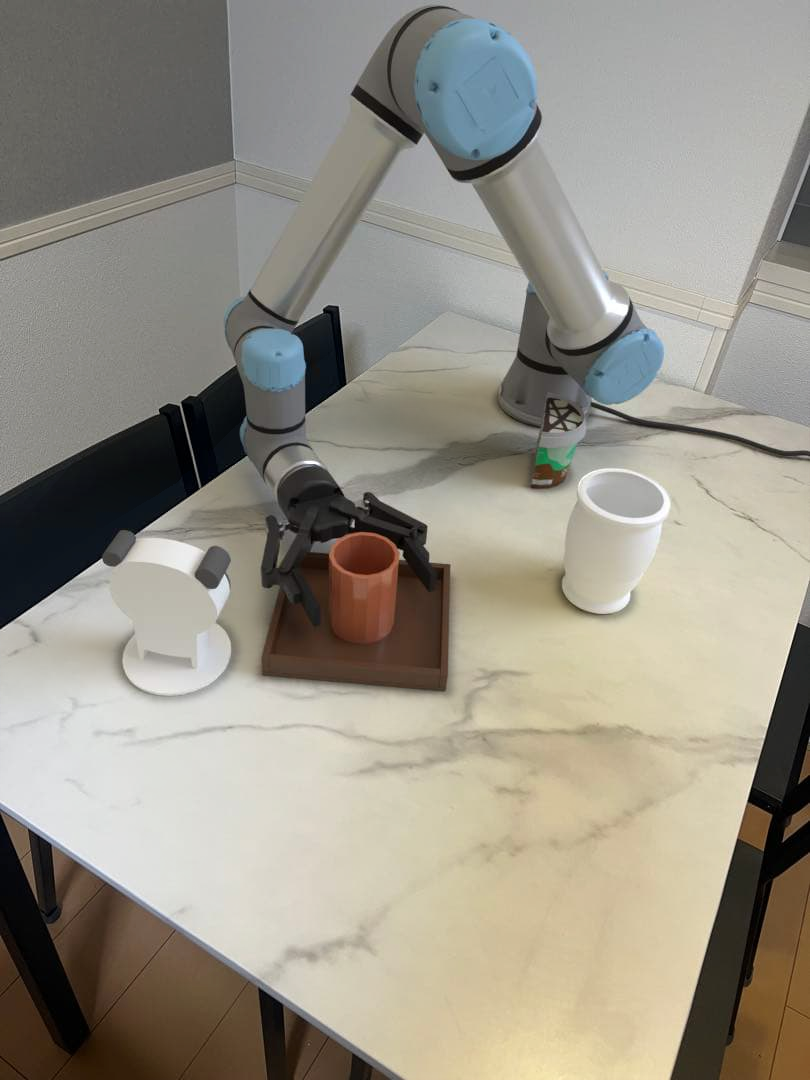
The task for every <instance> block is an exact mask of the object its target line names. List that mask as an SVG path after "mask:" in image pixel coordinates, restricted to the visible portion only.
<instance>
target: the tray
mask: <svg viewBox="0 0 810 1080" xmlns="http://www.w3.org/2000/svg"><path fill="white" fill-rule="evenodd" d="M429 563H430V564H431V565H432V567H433V568H434V569H435V571H436V572H437V576H436V584H435V590H434V591H431V592H428V590H427V589H426V588H425V586H424V585H423V584H422V582H421V581H420V580H419V578H418V577H417V575H416V574H415V573H414V571H413V570H412V569H411V567H410V566H409V565H408V563H407V562H406V560H405V559H399V566H398V578H397V591H396V603H395V615H394V625H393V628H392V630H391V631H390V633H389V634H388V635H387V636H386V637H384V638H383V639H381V640H379V641H376V642H373V643H368V644H356V643H351V642H348V641H345V640H343V639H341V638H340V637H338V636H337V635H336V634H335V633H334V632H333V630H332V629H331V627H330V623H329V553H327V552H315V551H310V552H307V554H306V556H305V558H304V560H303V562H302V564H301V566H300V568H299V571H300V572H301V574H302V576H303V577H304V579H305V581H306V583H307V584H308V586H309V588H310V589H311V591H312V593H313V595H314V596H315V598H316V600H317V602H318V603H319V605H320V607H321V625H320V626H317V627H314V626H313V625H312V623H311V621H310V619H309V617H308V616H307V614H306V612H305V610H304V608H303V607H302V605H301V603H296V604H293V603H291V602H290V600H289V598H288V597H287V595H286V593H283V592H281V591H280V587H279V588H278V593H277V596H276V599H275V604H274V608H273V611H272V615H271V619H270V620H271V621H270V623H269V627H268V631H267V635H266V638H265V642H264V646H263V649H262V650H263V651H262V654H261V657H260V658H261V659H260V663H261V664H260V665H261V675H262V676H270V677H281V678H293V679H304V680H313V681H314V680H316V681H328V682H338V683H339V682H340V683H348V684H349V683H351V684H361V685H373V686H382V687H385V686H386V687H393V688H395V687H396V688H404V689H405V688H407V689H418V690H429V691H439V692H440V691H441V692H446V690H447V684H448V679H449V678H448V677H449V652H450V651H449V649H450V648H449V646H450V644H449V643H450V605H451V604H450V598H451V597H450V596H451V564H450V563H442V562H430V561H429Z"/></svg>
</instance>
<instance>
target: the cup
mask: <svg viewBox="0 0 810 1080" xmlns="http://www.w3.org/2000/svg"><path fill="white" fill-rule="evenodd" d="M329 548H330V549H329V553H328V554H329V623H330V627H331V629H332V630H333V632H334V633H335V634H336V635H337V636H338V637H340V638H341V639H343V640H345V641H348V642H351V643H356V644H368V643H373V642H376V641H379V640H381V639H383V638H384V637H386V636H387V635H388V634H389V633H390V631H391V630H392V628H393V625H394V615H395V603H396V591H397V578H398V566H399V560H400V551H399V549H397V547H396V545H395V544H394V543H393V542H391V541H390V540H389V539H388V538H386V537H384V536H381V535H378V534H375V533H367V532H358V533H352V534H348V535H345V536H343V537H341V538H337V540H336V541H335V542H334V543H333V544H332V545H330V547H329Z"/></svg>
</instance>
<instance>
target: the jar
mask: <svg viewBox="0 0 810 1080" xmlns="http://www.w3.org/2000/svg"><path fill="white" fill-rule="evenodd" d="M576 497H577V500H576V502H575V504H574V506H573V508H572V511H571V513H570V515H569V516H570V517H569V518H568V522H567V526H566V531H565V537H564V539H565V541H564V557H563V559H564V564H563V565H564V571H565V574H564V576H563V578H562V580H561V589H562V592H563V595H564V596H565V597H566V598H567V600H568V601H569V602H570V603H572V605H574V606H575V607H577V608H579V609H581V610H583V611H585V612H588V613H593V614H598V615H599V614H600V615H608V614H614V613H617V612H619V611H621V610H623V609H624V608H625V607H627V605H628V604H629V602H630V599H631V592H632V591H633V590H634V589H635V588H636V587H637V585H638V584H639V583H640V581H641V579H642V578H643V576H644V574H645V571H646V570H647V569H648V567H650V564H651V563H652V561H653V559H654V557H655V555H656V553H657V549H658V547H659V544H660V540H661V534H662V527H663V522H664V521H666V520H667V517H668V516H669V514H670V512H671V508H672V499H671V496H670V493H668V491H667V489H665V487H664V486H662V485H661V483H659V482H658V481H656V480H655V479H653V478H651V477H650V476H648V475H645V474H644V473H641V472H637V471H634V470H630V469H627V468H626V469H625V468H617V467H615V468H614V467H609V468H608V467H607V468H601V469H595V470H592V471H591V472H589V473H586V474H585V475H583V476H582V478H581V479H580V481H579V482H578V485H577V488H576Z"/></svg>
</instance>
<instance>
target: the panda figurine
mask: <svg viewBox="0 0 810 1080" xmlns="http://www.w3.org/2000/svg"><path fill="white" fill-rule="evenodd" d="M101 559H102V563H103V564H104V565H106V566H108V567H111V568H112V571H111V574H110V577H109V583H108V584H109V585H108V586H109V593H110V596H111V598H112V600H113V602H114V603H115V605H116V606H117V608H118V609H119V610H120V611H121V612H122V613H123V615H125V616H127V617H128V618H130V619H131V620H132V624H133V628H134V634H133V635H132V636H131V637H130V639H129V640H128V642H127V643H126V645H125V647H124V649H123V653H122V661H121V662H122V668H123V671H124V674H125V676H126V677H127V679H128V680H129V681H130V683H131V684H132V685H134V686H135V687H136V688H138V689H139V690H141V691H143V692H146V693H148V694H151V695H155V696H161V697H164V696H165V697H174V696H181V695H187V694H190V693H194V692H197V691H199V690H202V689H203V688H206V687H207V686H208V685H209V686H210V685H211V684H212V683H213V682H214V681H216V680H217V679H218V678H219V677H220V676H221V675H222V674H223V673H224V671H226V669H227V667H228V665H229V663H230V661H231V657H232V643H231V640H230V637H229V635H228V633H227V632H226V630H225V629H224V628H223V627H222V626H221V625H220V624H218V623H217V620H218V618H219V616H220V614H221V612H222V610H223V608H224V606H225V603H226V602H227V600H228V598H229V596H230V594H231V580H230V577H229V575H228V573H227V571H228V569H229V566H230V564H231V562H232V558H231V556H230V554H229V552H228V550H226V549H225V548H223V547H221V546H218V545H213V546H210V547H208V549H207V551H206V552H205V551H204V550H202V549H200V548H198V547H196V546H194V545H191V544H188V543H185V542H182V541H178V540H174V539H169V538H162V537H160V538H159V537H144V538H141V539H140V538H139V539H137V537H136V535H135V533H133V532H132V531H130V530H126V529H122V530H119V531H118V532H117V534H116V535H115V537H114V538H113V540H112V541H111V542H110V543H109V545H108V547H107V548H106V550H105V551H104V552H103V554H102V556H101Z"/></svg>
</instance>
